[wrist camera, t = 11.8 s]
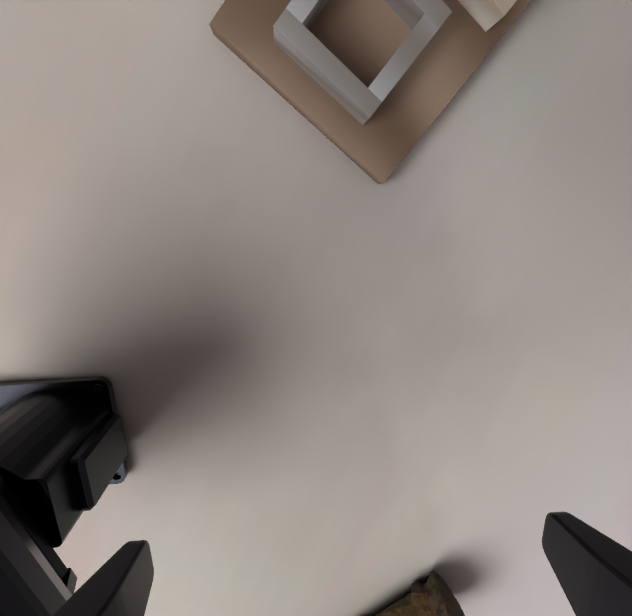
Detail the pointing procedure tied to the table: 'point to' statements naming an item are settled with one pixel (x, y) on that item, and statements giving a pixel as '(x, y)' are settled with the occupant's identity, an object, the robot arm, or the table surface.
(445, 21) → the socket board
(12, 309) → the table surface
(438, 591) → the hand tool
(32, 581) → the robot arm
